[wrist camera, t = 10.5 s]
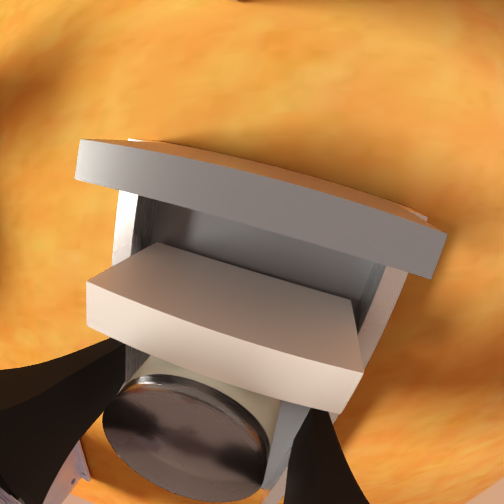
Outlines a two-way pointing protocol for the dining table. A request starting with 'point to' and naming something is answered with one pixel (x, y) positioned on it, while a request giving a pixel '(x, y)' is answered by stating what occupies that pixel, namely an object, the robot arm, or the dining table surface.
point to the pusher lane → (265, 238)
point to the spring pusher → (231, 325)
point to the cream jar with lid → (192, 432)
